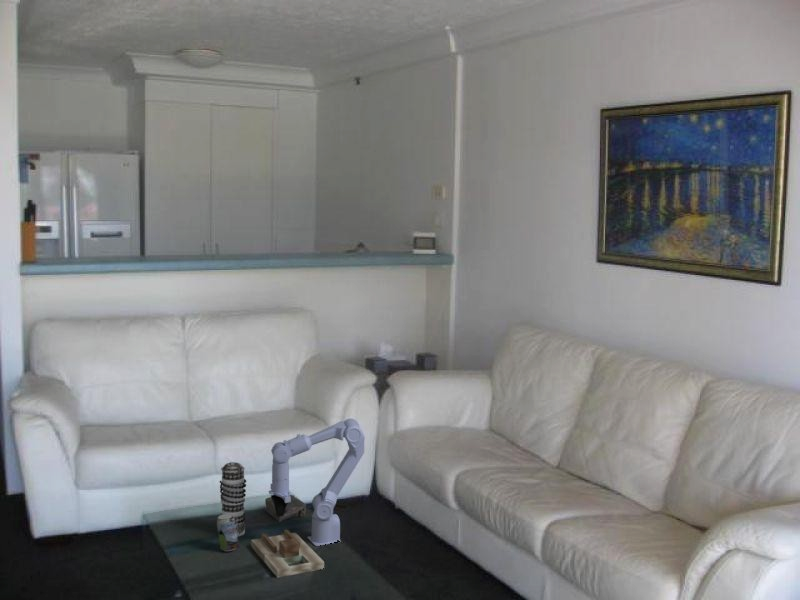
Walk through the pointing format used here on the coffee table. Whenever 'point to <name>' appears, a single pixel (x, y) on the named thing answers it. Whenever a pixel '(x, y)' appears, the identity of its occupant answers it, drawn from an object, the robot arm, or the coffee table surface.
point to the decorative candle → (234, 494)
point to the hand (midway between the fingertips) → (280, 515)
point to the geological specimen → (287, 508)
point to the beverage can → (227, 532)
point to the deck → (286, 566)
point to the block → (289, 548)
